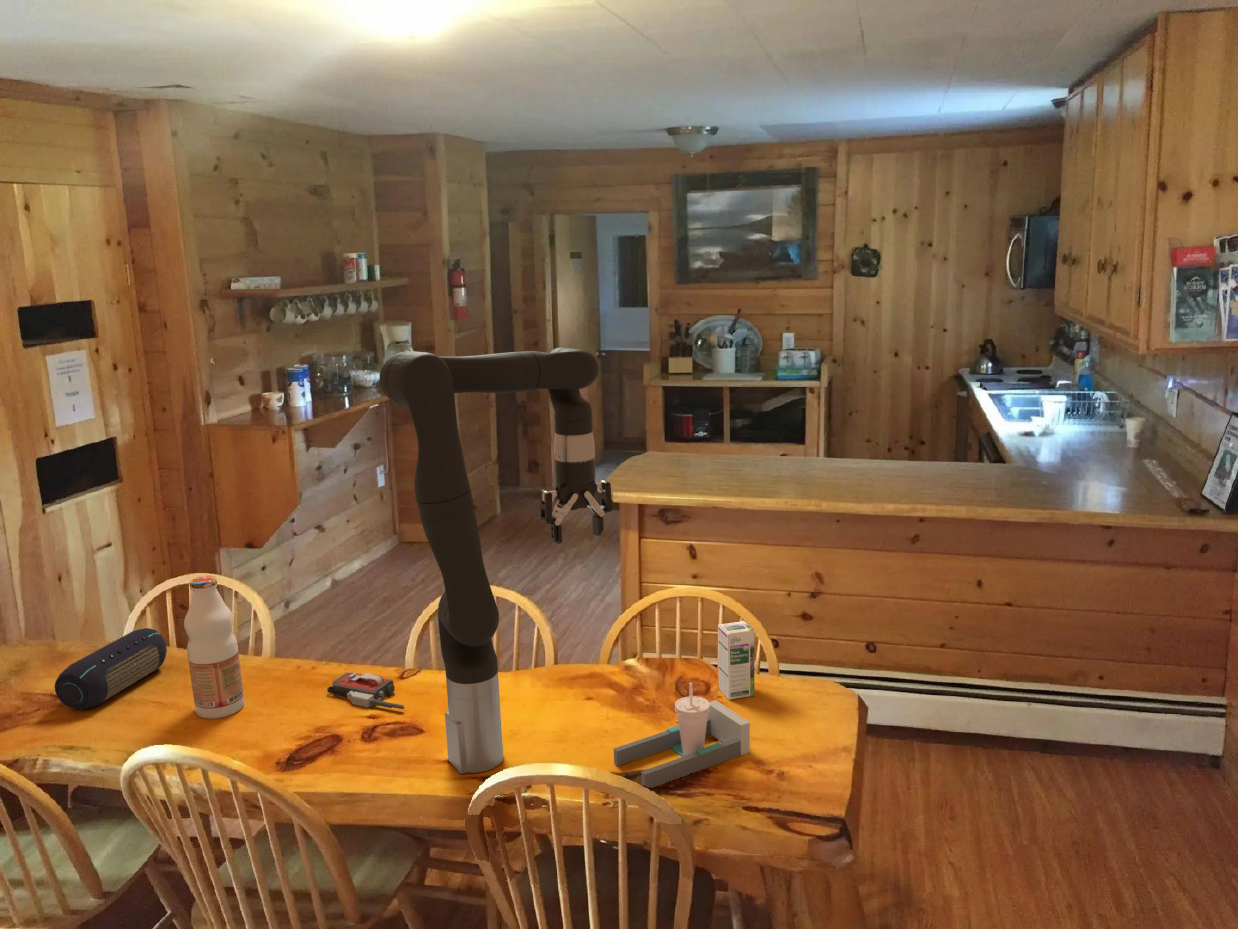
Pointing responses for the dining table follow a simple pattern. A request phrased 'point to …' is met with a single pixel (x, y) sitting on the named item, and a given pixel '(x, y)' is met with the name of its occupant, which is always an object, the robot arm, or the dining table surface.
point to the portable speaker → (111, 669)
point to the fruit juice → (212, 652)
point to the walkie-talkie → (364, 689)
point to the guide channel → (719, 725)
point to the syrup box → (736, 659)
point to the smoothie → (692, 721)
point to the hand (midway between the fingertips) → (577, 538)
